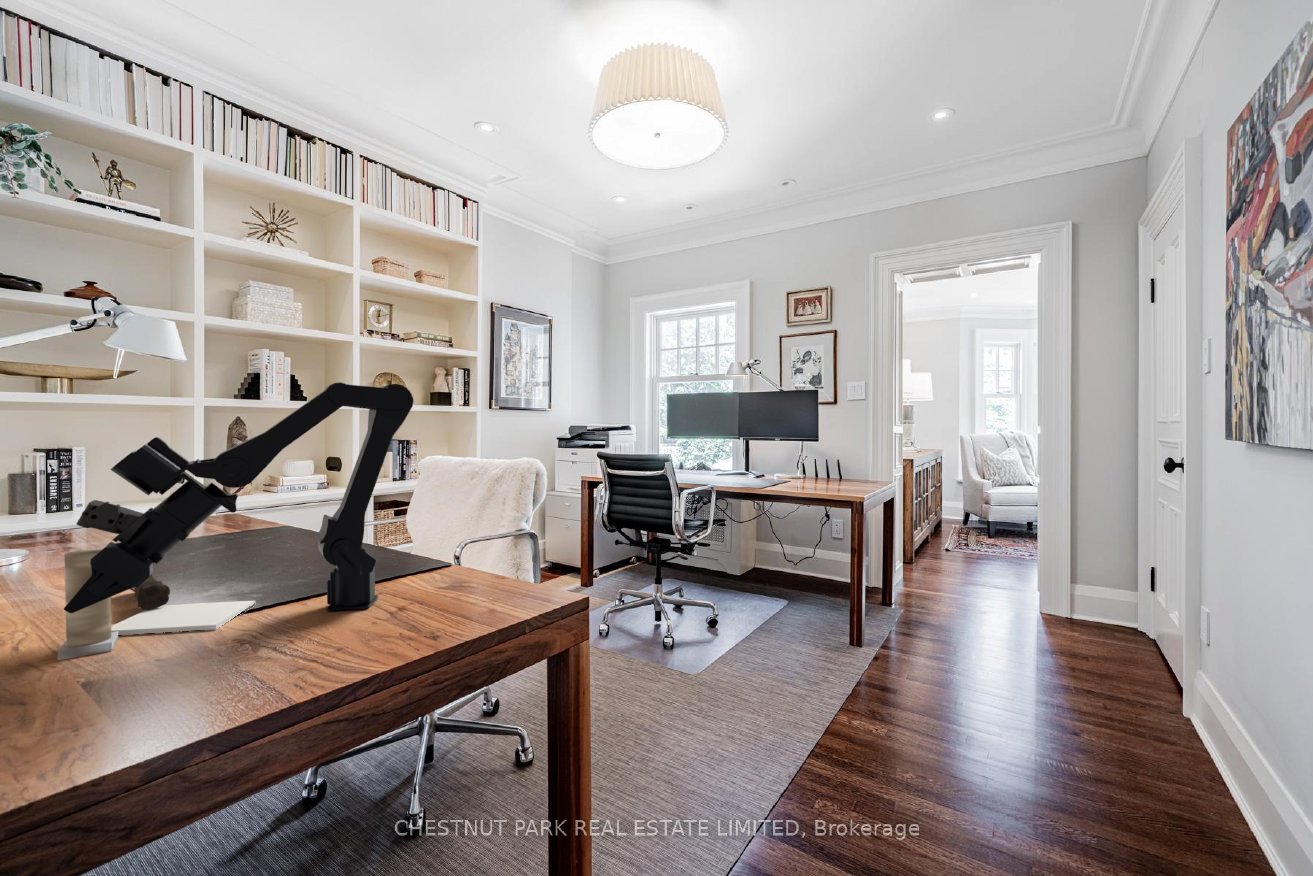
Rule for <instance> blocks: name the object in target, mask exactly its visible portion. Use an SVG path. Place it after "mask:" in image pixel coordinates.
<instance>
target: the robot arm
mask: <svg viewBox="0 0 1313 876" xmlns="http://www.w3.org/2000/svg"><path fill="white" fill-rule="evenodd" d="M413 406H414V396H413V394H412V392H411V390H409V388H407V387H406V386H404V385H402V384H400V383H390V384H386V385H383V386H380V387H377V386H367V385H357V384H356V385H355V384H348V383H345V382H340V381H339V382H334V383H331V384H329V385H328V386H326V387H325V389H323V390H322V391H321V392H320V393H319V394H317V395H315V396H314V397H312V399H310V400H308V401H307V402H306V403H304V404H303V405H301V406H300V407H299V408H297V409H296V410H294V411H293V412H292V413H290V414H288V415H287V416H286V417H284V418H282V419H281V420H279V421H278V422H276V423H275V424H273V426H271V427H269V428H268V429H267V430H265V431H264V432H262V433H260V434H258V435H256V436H254V437H251V438H249V439H247V440H245V441H243V442H240V443H238V444H236V445H234V446H232V447H230V448H227V449H226V450H223V451H222V452H220V453H219V454H218V455H217V456H216V457H215V458H214V457H213V458H208V459H199V458H197V459H196V460H192V461H189V460H188V459H186V458H185V457H184V456H183V455H181V454H180V453H178V452H177V451H176V450H174V449H173V448H171V446H169V445H168V443H167V442H166V441H164V439H161V438H160V437H159V436H158V437H157V436H155V437H154V438H152V439H150V440H149V441H148V442H147V443H145V444H144V445H142V446H141V447H139V448H138V449H136V450H134V451H131V452H130V453H129V454H127V455H126V456H125V457H124V458H122V459H121V460H120V461H118V462H117V463H116V464H115V465H113V466H112V468H110V471H111V472H113V473H115V474H116V475H118V476H119V477H120V478H122V479H123V480H125V481H126V482H128V483H129V484H130V485H132V486H134V487H135V488H137V489H138V490H139V491H141V492H143V493H144V494H145V495H147V496H149V495H151V494H152V493H154V494H160V496H163V495H164V494H165V493H167V492H168V491H169V490H170V489H171V488H173V487H174V486H176V485H177V483H179V482H180V481H181V480H183V479H184V480H186V482H184V483H183V484H181V485H180V487H178V488H177V489H176V490H175V491H173V492H172V493H171V494H170V495H168V496H167V497H166V498H165V499H163V500H162V501H161V502H160V503H159V504H157V506H154V508H153V507H150V508H149V509H148V510H146V511H145V512H144V513H143V512H139V511H138V510H137V511H136V510H135V509H134V510H133V509H131V508H128V507H124V506H121V504H113V503H110V502H109V501H102V500H99V499H94V500H93V499H92V500H91V501H89V502H88V504H87V506H86V507H85V509H84V510H83V511H82V513H81V515H80V517H79V518H78V520H77V522H76V523H75V524H76V526H78V527H82V528H85V529H90V528H93V529H96V530H100V531H104V532H107V533H111V534H115V535H116V536H114V538H113V539H112V541H110V542H109V543H108V544H107V545H105V547H102V548H103V549H102V550H101V551H100V552H98V553H97V554H96V555H95V556H94V557H93V558H91V559H90V560H91V561H90V565H91V570H92V575H91V577H90V578H89V579H88V580H87V581H86V583H85V584H84V585H83V586H82V587H81V589H80V590H79V591H78V592H77V593H76V594H75V596H74V597H73V598H72V599H71V600H70V602H69V603H68V604H67V605H66V604H65V606H64V608H63V610H64V612H66V611H67V612H69V613H74V612H77V611H79V610H81V609H83V608H86V607H88V606H90V605H93V604H95V603H97V602H100V601H102V600H105V599H107V598H109V597H113V596H117V595H118V594H121V593H123V592H127V591H129V590H132V589H135V588H134V587H136V588H137V587H138V586H140V585H141V584H142V583H143V582H144V581H145V580H146V579H148V578H149V577H150V575H151V574H152V575H153V572H154V564H155V565H157V564H159V562H160V561H162V560H163V559H164V558H165V555H167V554H168V553H169V552H170V551H171V550H173V549H174V548H175V547H176V546H177V545H178V544H179V543H181V542H183V541H185V540H186V539H187V538H188V537H189V536H190V534H191V533H192V532H193V531H195V530H196V529H197V528H198V527H199V526H200V525H201V524H203V523H204V522H205V521H206V520H207V519H208V518H209V517H210V516H212V515H213V514H214V513H215V512H216V511H218V509H220V508H221V507H223V508H224V509H226V510H227V511H229V512H230V513H233V514H234V513H235V512H237V504H236V503H237V500H238V495H239V494H238V493H236V492H234V493H227V492H225V491H224V490H223V489H222V488H221V487H219V486H218V485H216V484H215V483H213V482H209V484H207V485H204V484H203V483H201V481H199V480H197V479H195V478H194V476H195V477H196V478H201V479H209V480H214V481H216V483H218V484H220V485H221V486H223V487H226V488H230V489H231V488H232V489H233V488H234V489H235V488H237V489H238V488H239V489H240V488H242V487H243V488H244V487H245V486H247V485H249V484H251V483H252V482H253V481H254V480H255V479H256V478H257V477H258V476H259V475H260V474H261V473H262V472H263V471H264V470H265V469H266V468H267V467H268V465H269V464H270V463H272V461H273V460H274V459H275V458H276V457H277V456H278V455H279V454H280V453H281V452H282V451H283V450H284V449H285V448H286V447H288V446H289V445H291V444H292V443H293V442H295V441H296V440H298V439H299V438H300V437H302V436H303V435H304V434H306V433H307V432H309V431H310V430H312V429H313V428H314V427H316V426H317V425H318V424H320V423H321V422H322V421H324V420H325V419H327V418H329V416H331V415H332V414H334V413H336V411H338V410H339V409H340V408H342V407H346V408H347V407H349V408H357V409H364V410H366V409H367V410H368V419H367V432H366V434H365V437H364V440H363V442H362V445H361V448H360V450H359V454H358V456H357V459H356V461H355V464H354V467H353V470H352V472H351V475H350V478H349V481H348V484H347V487H346V489H345V492H344V494H343V498H342V500H341V503H340V506H339V507H338V508H337V510H336V511H335V513H334V514H333V515H332V516H330V515H328V514H323V516H322V517H323V518H322V521H321V526H320V529H319V531H318V532H317V533H316V534H315V538H316V539H317V548H318V550H319V552H320V554H321V555H322V557H323V558H324V559H325V561H326V562H328V563H329V564H330V565H332V566H334V567H335V568H334V569H333V570H331V571H330V572H329V579H328V580H326V604H327V605H328V606H327V607H326V611H328V612H332V611H333V612H334V611H350V610H351V611H352V610H367V609H369V608H370V607H371V606H372V605H373V604H374V603H375V602H376V601H377V600H378V599H379V595H378V594H376V574H375V573H376V568H375V565H376V563H377V560H376V559H375V557H373V555H371V554H370V553H369V552H368V551H367V550H366V549H365V548H363V542H364V535H365V519H366V518H365V517H366V512H367V509H368V507H369V504H370V500H371V498H372V495H373V492H374V490H375V487H376V484H377V481H378V479H379V476H380V473H381V471H382V468H383V465H384V462H385V459H386V456H387V453H388V450H389V447H390V445H391V443H392V439H393V438H394V436H395V434H396V433H398V430H399V429H400V428H401V426H402V425H403V424H404V422H405V421H406V419H407V417H408V415H409V414H410V412H411V410H412V408H413ZM186 471H187V472H189V473H190V474H191V475H193V476H191V475H190V474H189V473H187V472H186Z"/></svg>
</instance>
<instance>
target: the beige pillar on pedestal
mask: <svg viewBox="0 0 1313 876" xmlns="http://www.w3.org/2000/svg"><path fill="white" fill-rule="evenodd" d="M103 548H104V547H102V548H99V547H98V548H86V549H82V550H81V549H80V550H73V551H70V552H66V553H64V582H65V583H64V592H65V606H66V605H67V604H68V603H69V602H70V600H71V599H72V598H73V597H74V596H75V594H76V593H77V592H78V591H79V590H80V589H81V587H82V586H83V585H84V584H85V583H86V581H87V580H88V579H89V578H90V577H91V575H92V570H91V565H90V561H91V560H90V559H91V558H93V557H94V556H95V555H96V554H97V553H98V552H100V551H101V550H102V549H103ZM111 601H112V599H111V597H109V598H107V599H105V600H102V601H100V602H97V603H95V604H93V605H90V606H88V607H86V608H83V609H81V610H79V611H77V612H74V613H69V612H67V611H65V629H66V630H65V633H66V634H65V635H66V637H65V638H66V640H65V641H64V642H63V644H62V645H61V646H60V647H59V649H58V650H57V661H60V660H66V659H67V660H68V659H72V658H79V657H84V656H85V657H86V656H89V655H96V654H102V653H107V652H108V653H109V652H113V650H114V648H115V646H116V645H115V644H117V643H118V641H119V636H118V631H116V632H111V626H112V602H111ZM117 640H118V641H117ZM116 642H117V643H116ZM112 649H113V650H112Z"/></svg>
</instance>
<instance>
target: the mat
mask: <svg viewBox="0 0 1313 876" xmlns="http://www.w3.org/2000/svg"><path fill="white" fill-rule="evenodd" d="M254 603H255V604H256V600H242V601H241V600H239V601H218V602H203V603H201V602H200V603H182V604H165V605H162V606H160V607H158V608H155V609H150V610H143V611H141V612H139V613H137V614H134V615H132V616H130V617H128V618H126V619H123V620H121V621H120V622H118V623H115V624H113V625H111V632H116V631H118V635H122V636H134V635H133V634H139V635H145V634H144V633H155V634H166V633H165V632H172V633H183V632H182V631H189V632H191V631H190V630H205V631H216V630H218V629H220V628H221V627H223V626H224V624H225V623H226V622H228V621H229V622H231V621H232V620H231V619H233V618H234V617H235V616H237V615H238V614H240V613H241V612H242V611H244V610H245V609H246V608H248V607H249V606H252V605H253V604H254ZM240 615H241V614H240ZM237 617H238V616H237ZM234 619H235V618H234ZM234 619H233V620H234ZM230 620H231V621H230ZM229 622H228V623H229ZM226 624H227V623H226ZM226 624H225V625H226ZM222 625H223V626H222ZM219 627H220V628H219ZM179 631H180V632H179ZM163 632H164V633H163Z"/></svg>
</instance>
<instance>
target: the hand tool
mask: <svg viewBox="0 0 1313 876" xmlns="http://www.w3.org/2000/svg"><path fill="white" fill-rule="evenodd" d="M133 589H134V594H135V597H136V598H137V604H138V605H137V607H139V608H140V609H141V610H143V611H145V610H150V609H155V608H158V607H160V606H162V605H167V603H168V602H169V601H170V594H171V589H170V586H168V585H166V584H163V581H162V580H157V579H155V578H154V576H153V573H152V574H151V575H150V577H149V578H148V579H146V580H145V581H144V582H143V583H142V584H141V585H140V586H138V587H137V588H136V587H134V588H133Z"/></svg>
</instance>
